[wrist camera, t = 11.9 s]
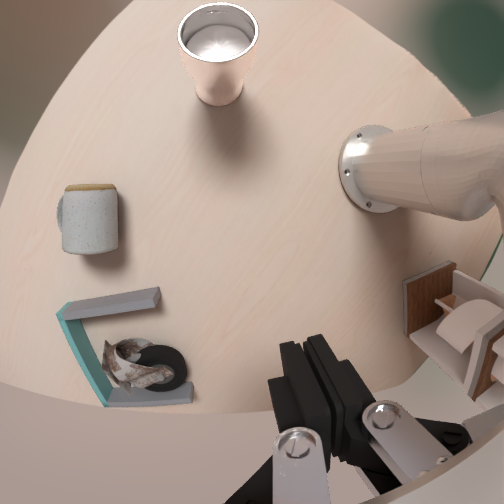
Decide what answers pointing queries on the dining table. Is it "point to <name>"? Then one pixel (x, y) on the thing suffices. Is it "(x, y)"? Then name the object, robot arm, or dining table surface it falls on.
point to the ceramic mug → (88, 219)
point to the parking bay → (90, 362)
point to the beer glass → (218, 50)
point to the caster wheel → (143, 365)
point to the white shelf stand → (459, 329)
